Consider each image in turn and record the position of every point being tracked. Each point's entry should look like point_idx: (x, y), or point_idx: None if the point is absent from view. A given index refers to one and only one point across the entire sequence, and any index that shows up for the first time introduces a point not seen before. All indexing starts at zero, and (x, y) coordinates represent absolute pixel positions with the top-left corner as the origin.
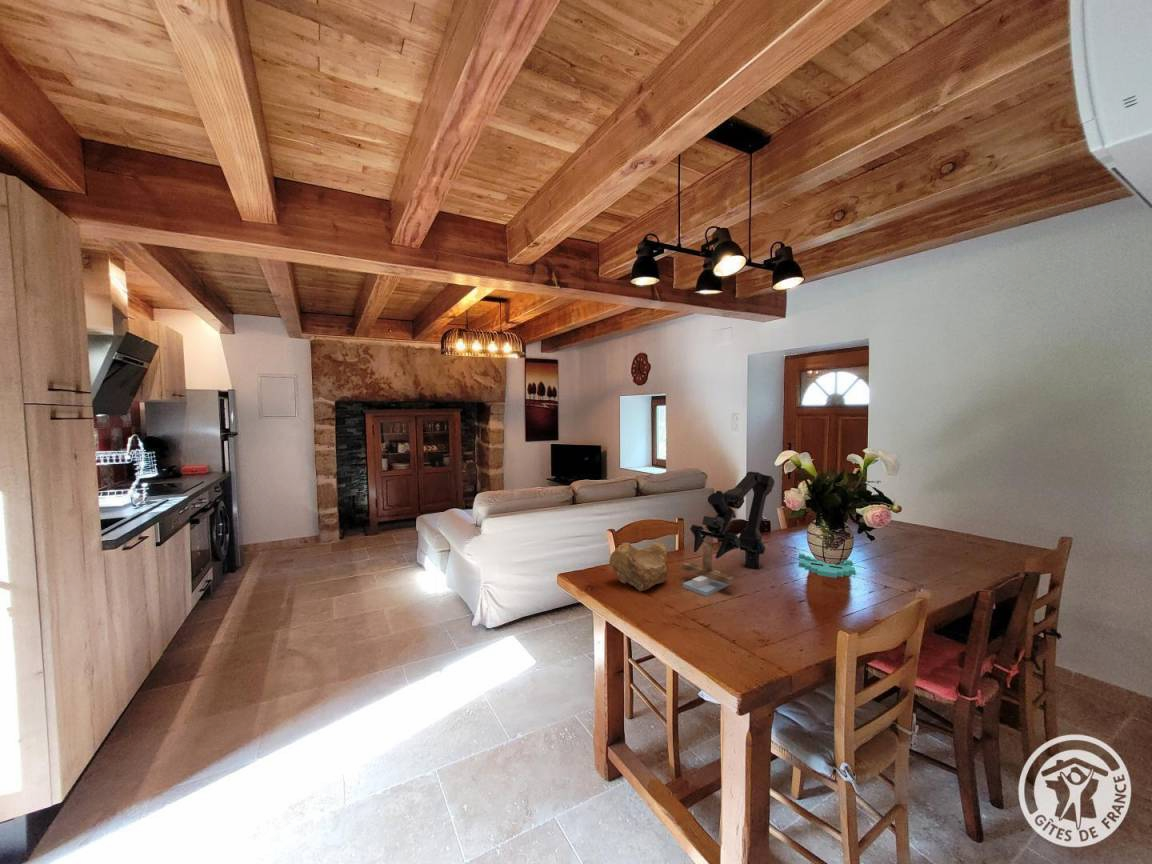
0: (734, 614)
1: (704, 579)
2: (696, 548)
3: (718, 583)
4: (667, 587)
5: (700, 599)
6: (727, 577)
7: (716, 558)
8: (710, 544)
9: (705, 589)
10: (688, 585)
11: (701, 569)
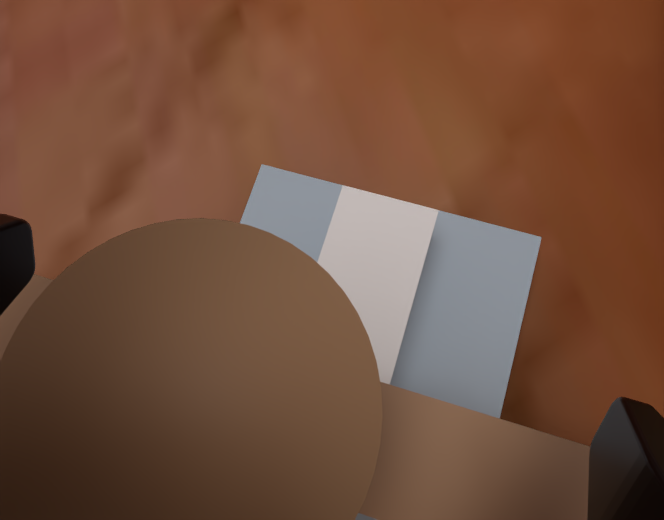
0: (17, 12)
1: None
2: (623, 496)
3: None
4: (654, 172)
5: (297, 102)
6: (9, 306)
7: (29, 260)
8: (44, 373)
9: (286, 222)
10: (468, 222)
11: (394, 410)
